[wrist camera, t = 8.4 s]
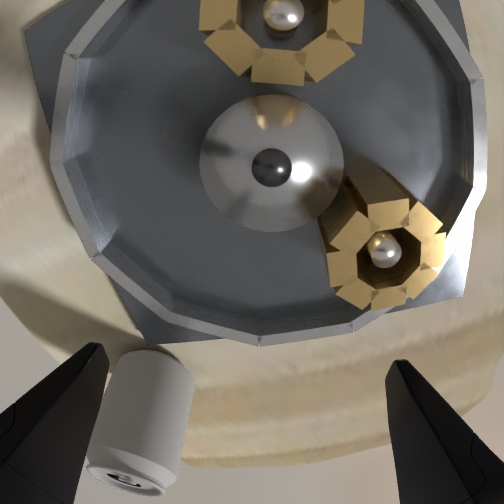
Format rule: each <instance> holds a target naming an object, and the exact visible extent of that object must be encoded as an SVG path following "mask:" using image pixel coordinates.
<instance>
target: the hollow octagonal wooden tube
mask: <svg viewBox="0 0 504 504" xmlns="http://www.w3.org/2000/svg"><path fill="white" fill-rule="evenodd" d="M257 1H259V0H201V4H200V18H199V31H201V32H202V33H204V34H206V35H207V36H209V37H208V38H207V39H206V40H205V41H203V42H204V43H205V44H206V45H207V46H208V47H209V48H210V49H211V50H212V51H213V52H215V53H216V54H217V55H218V56H219V57H220V58H221V59H222V60H223V61H224V62H225V63H226V64H227V65H228V66H229V67H230V68H231V69H232V70H233V71H234V72H235V73H236V74H237V75H238V76H246V75H248V74H249V73H250V72H251V71H252V72H251V82H261V83H274V84H286V85H296V86H304V80H305V81H308V82H314V83H317V82H319V81H320V80H321V79H323V78H324V77H325V76H327V75H328V74H329V73H331V72H332V71H334V70H335V69H336V68H338V67H339V66H341V65H342V64H343V63H345V62H346V61H348V60H349V59H350V58H352V57H353V56H355V53H354V52H353V51H352V50H351V47H354V46H358V45H362V33H363V19H364V1H365V0H300V1H301V2H302V3H303V4H304V5H305V6H306V7H307V8H308V9H309V10H310V11H311V13H312V14H313V15H314V16H315V23H314V37H313V41H312V42H311V43H309V44H308V45H307V46H305V47H304V48H303V49H301V50H300V51H291V50H280V49H267V48H260V47H259V46H258V45H257V43H256V42H255V41H254V40H253V39H252V38H251V37H250V36H248V35H247V34H246V33H245V32H244V25H245V11H246V10H247V9H248V8H249V7H251V6H252V5H253V4H255V3H256V2H257Z"/></svg>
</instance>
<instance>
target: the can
mask: <svg viewBox="0 0 504 504" xmlns="http://www.w3.org/2000/svg"><path fill="white" fill-rule="evenodd" d="M194 390H195V382H194V378H193V377H192V375H191V374H190V372H189V371H188V370H187V369H186V368H185V367H184V366H183V365H182V364H181V363H180V362H179V361H178V360H177V359H175V358H173V357H171V356H170V355H168V354H165V353H162V352H159V351H155V350H148V349H146V350H138V351H130V352H128V353H126V354H123V355H122V356H121V357H120V359H119V360H118V361H117V364H116V366H115V369H114V371H113V373H112V376H111V378H110V381H109V383H108V386H107V388H106V391H105V393H104V396H103V398H102V402H101V406H100V410H99V413H98V416H97V420H96V423H95V426H94V429H93V433H92V436H91V439H90V443H89V446H88V449H87V453H86V456H87V458H88V460H89V465H87V466H86V468H87V471H88V472H89V473H90V474H91V475H92V476H94V477H95V478H97V479H98V480H100V481H102V482H104V483H106V484H108V485H110V486H113V487H115V488H118V489H120V490H123V491H127V492H129V493H133V494H137V495H143V496H149V497H160V496H164V495H165V493H166V491H165V488H166V487H168V486H169V485H171V484H173V483H174V482H175V481H176V480H177V477H178V471H179V466H180V461H181V455H182V450H183V445H184V440H185V435H186V429H187V424H188V419H189V414H190V409H191V404H192V399H193V395H194Z"/></svg>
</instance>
